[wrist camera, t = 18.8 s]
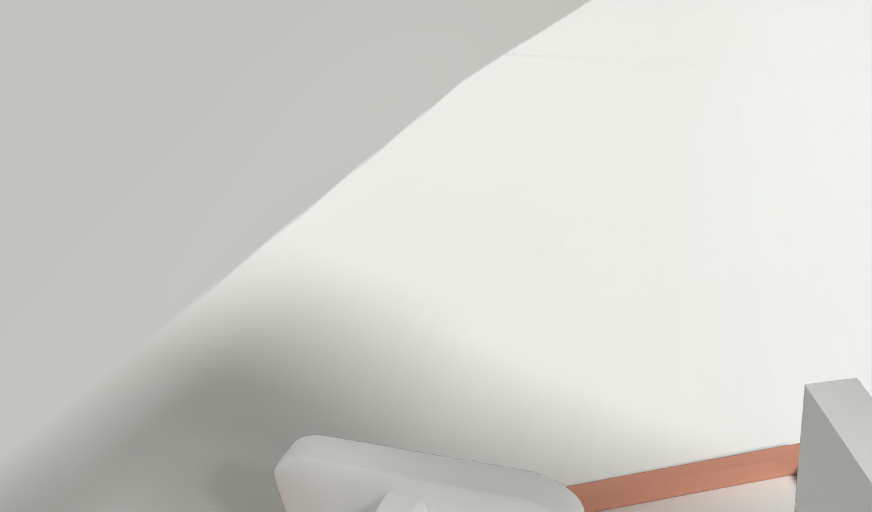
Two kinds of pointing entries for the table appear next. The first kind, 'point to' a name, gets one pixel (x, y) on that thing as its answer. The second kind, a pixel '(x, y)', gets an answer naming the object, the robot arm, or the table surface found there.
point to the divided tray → (688, 478)
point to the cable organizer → (407, 481)
